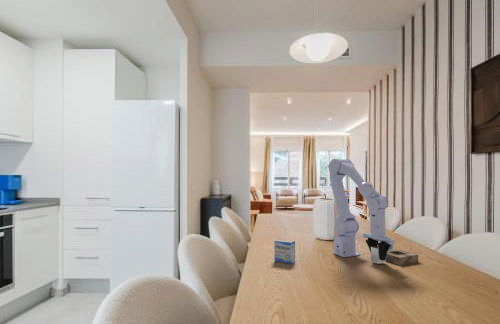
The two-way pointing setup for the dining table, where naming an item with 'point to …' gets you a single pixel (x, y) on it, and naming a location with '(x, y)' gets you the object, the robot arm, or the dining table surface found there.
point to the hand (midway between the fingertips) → (378, 258)
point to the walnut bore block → (401, 257)
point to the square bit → (376, 255)
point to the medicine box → (284, 251)
